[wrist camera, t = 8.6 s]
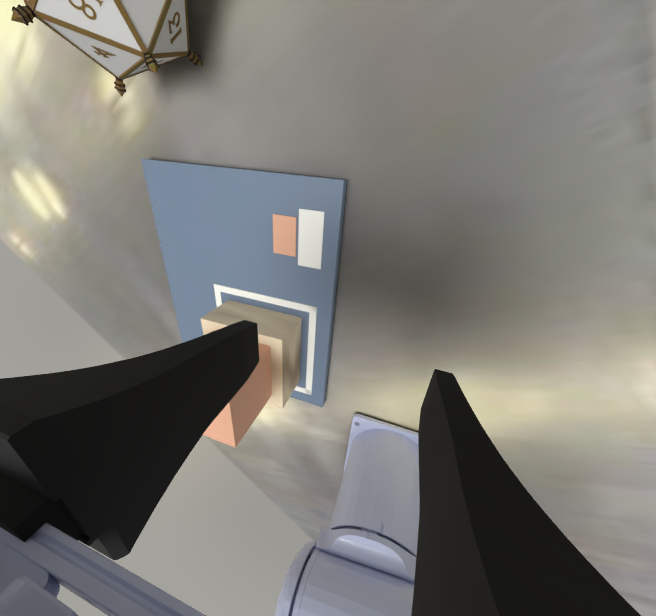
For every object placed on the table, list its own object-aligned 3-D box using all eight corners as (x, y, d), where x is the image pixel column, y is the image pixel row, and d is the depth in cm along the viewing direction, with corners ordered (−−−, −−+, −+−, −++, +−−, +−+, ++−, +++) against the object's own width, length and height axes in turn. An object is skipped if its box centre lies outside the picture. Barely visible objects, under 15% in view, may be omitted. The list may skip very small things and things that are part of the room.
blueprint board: (325, 401, 27) (322, 407, 26) (192, 359, 31) (186, 364, 30) (347, 179, 17) (343, 180, 17) (150, 159, 21) (139, 158, 21)
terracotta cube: (271, 394, 23) (235, 447, 18) (220, 378, 24) (175, 423, 20) (270, 346, 20) (228, 394, 16) (213, 330, 21) (159, 370, 17)
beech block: (299, 380, 26) (282, 408, 23) (235, 361, 28) (212, 384, 25) (301, 317, 22) (282, 340, 19) (228, 299, 24) (200, 318, 21)
